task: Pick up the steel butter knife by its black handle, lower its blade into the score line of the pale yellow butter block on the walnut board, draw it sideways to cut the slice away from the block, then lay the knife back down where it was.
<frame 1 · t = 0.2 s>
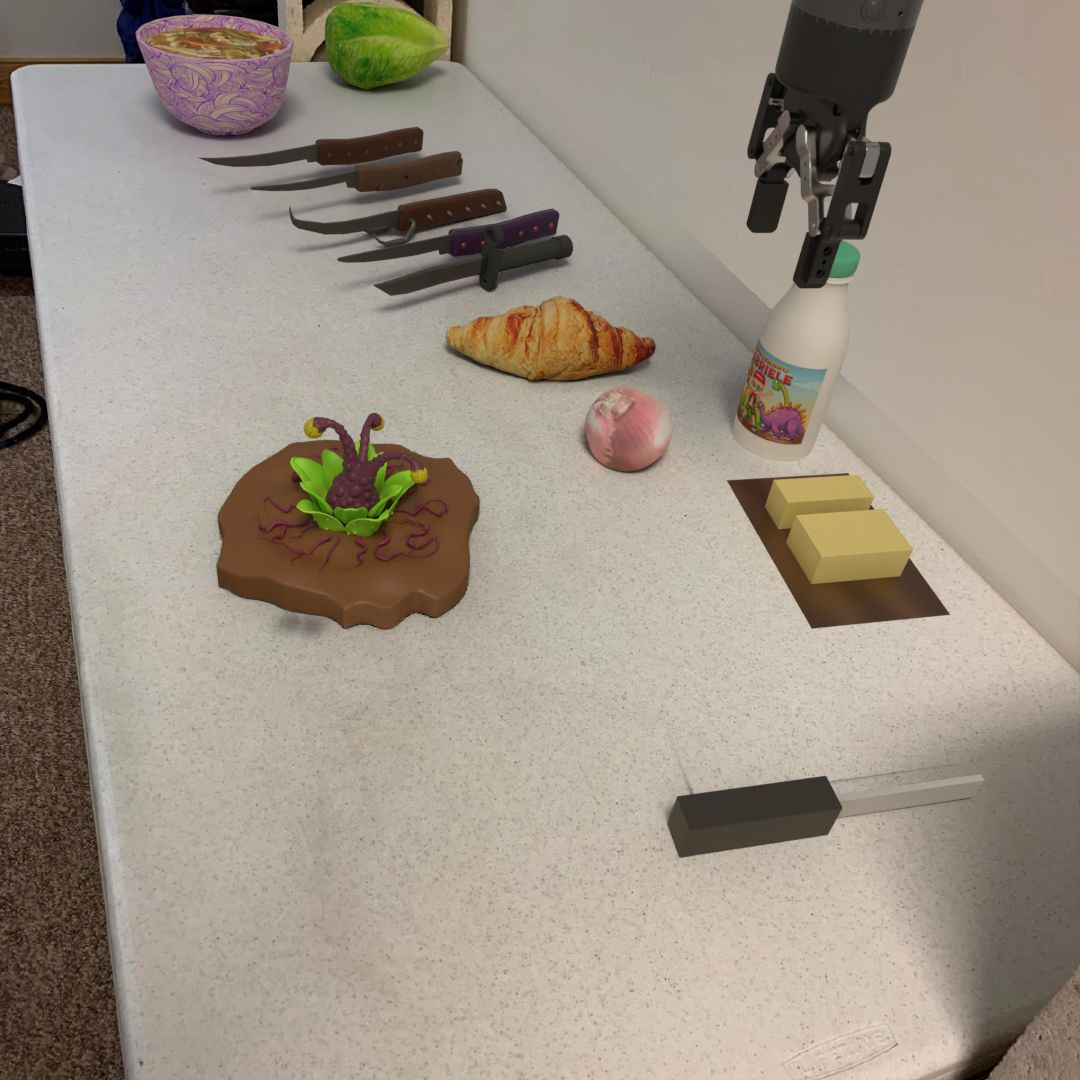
hand: (782, 257, 70), 23 cm above the table, tool pointing down, fingers open, 8 cm apart
onion: (622, 460, 90), on the table
bowl of food: (224, 126, 139), on the table
lettuce: (388, 85, 159), on the table
knife set: (396, 235, 119), on the table
butter block: (842, 559, 81), resting on butter board
butter slice: (813, 515, 85), point 1 cm above the table, touching butter board
butter knife: (748, 829, 62), on the table
milk bottle: (769, 446, 94), on the table
croissant: (548, 361, 102), on the table
butter board: (828, 551, 83), on the table
plant: (350, 538, 78), on the table
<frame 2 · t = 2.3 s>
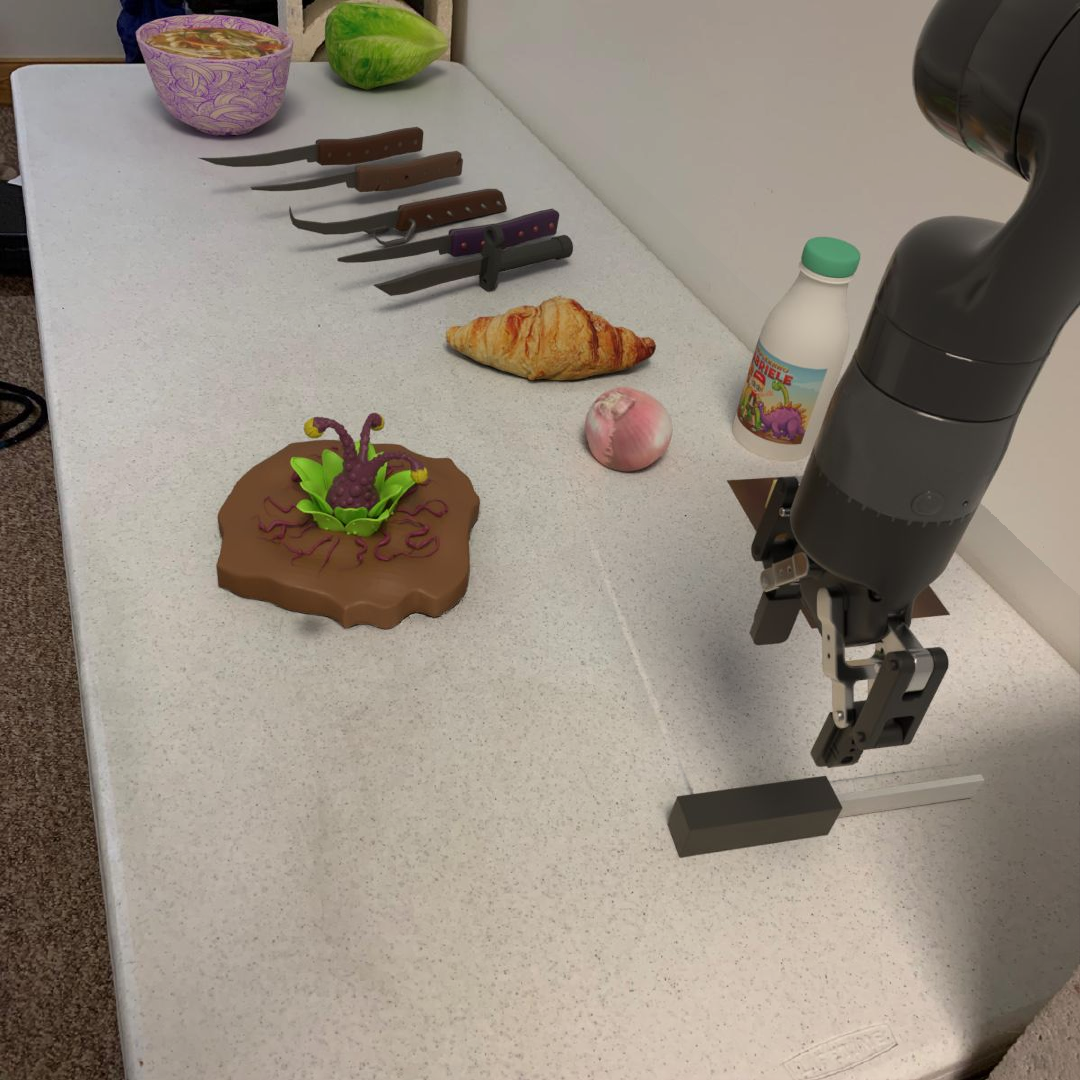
hand: (796, 696, 55), 12 cm above the table, tool pointing down, fingers open, 8 cm apart
nothing on the table moved.
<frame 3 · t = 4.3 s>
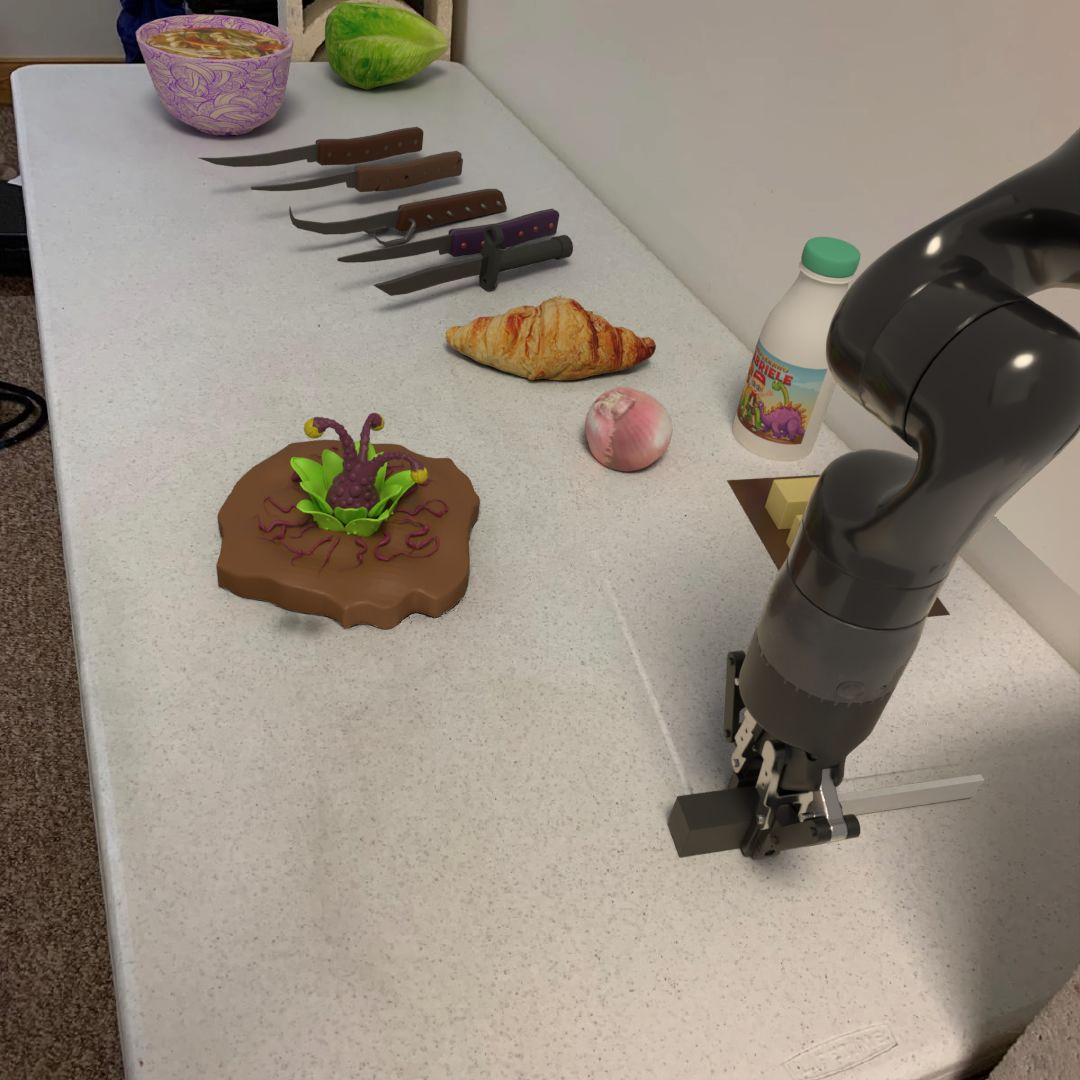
hand: (748, 827, 62), 0 cm above the table, tool pointing down, fingers closed on butter knife, 2 cm apart
butter knife: (748, 829, 62), on the table, touching gripper
everything else where it was.
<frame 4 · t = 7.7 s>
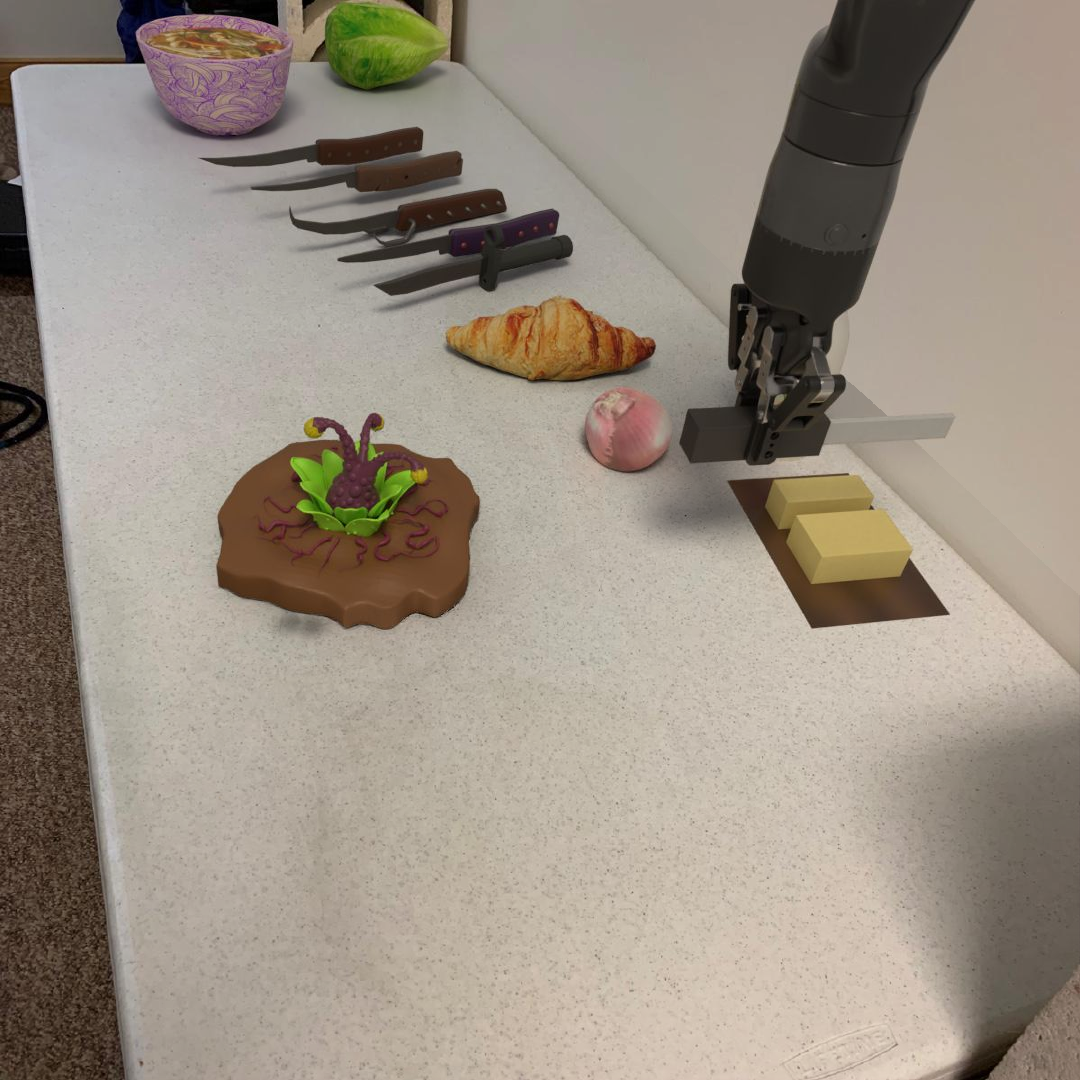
hand: (749, 448, 71), 13 cm above the table, tool pointing down, fingers closed on butter knife, 2 cm apart
butter knife: (749, 449, 71), point 13 cm above the table, touching gripper
everything else where it was.
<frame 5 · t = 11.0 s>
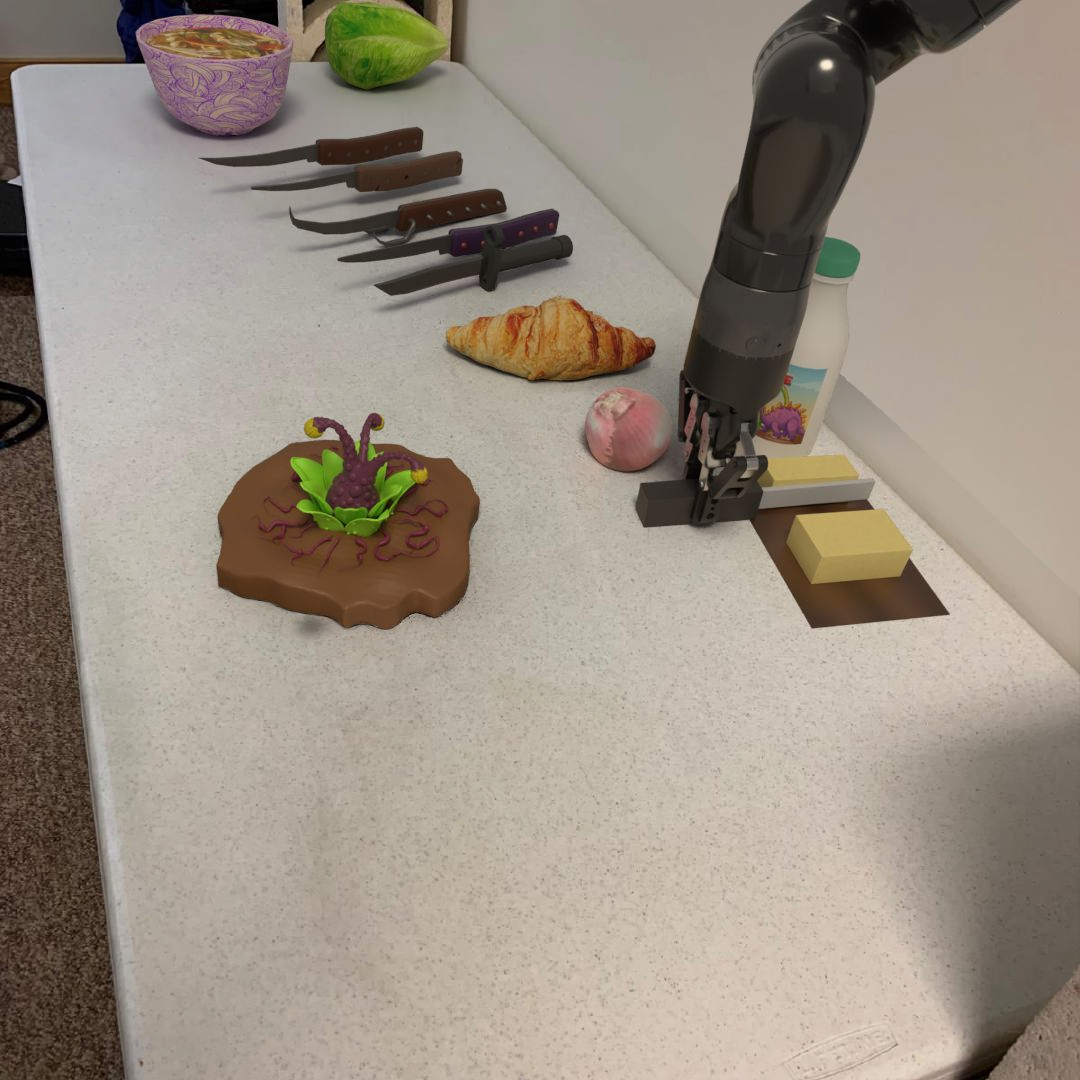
hand: (696, 508, 83), 2 cm above the table, tool pointing down, fingers closed on butter knife, 2 cm apart
butter slice: (800, 493, 87), point 1 cm above the table, touching butter board
butter knife: (695, 514, 84), point 1 cm above the table, touching gripper
everything else where it was.
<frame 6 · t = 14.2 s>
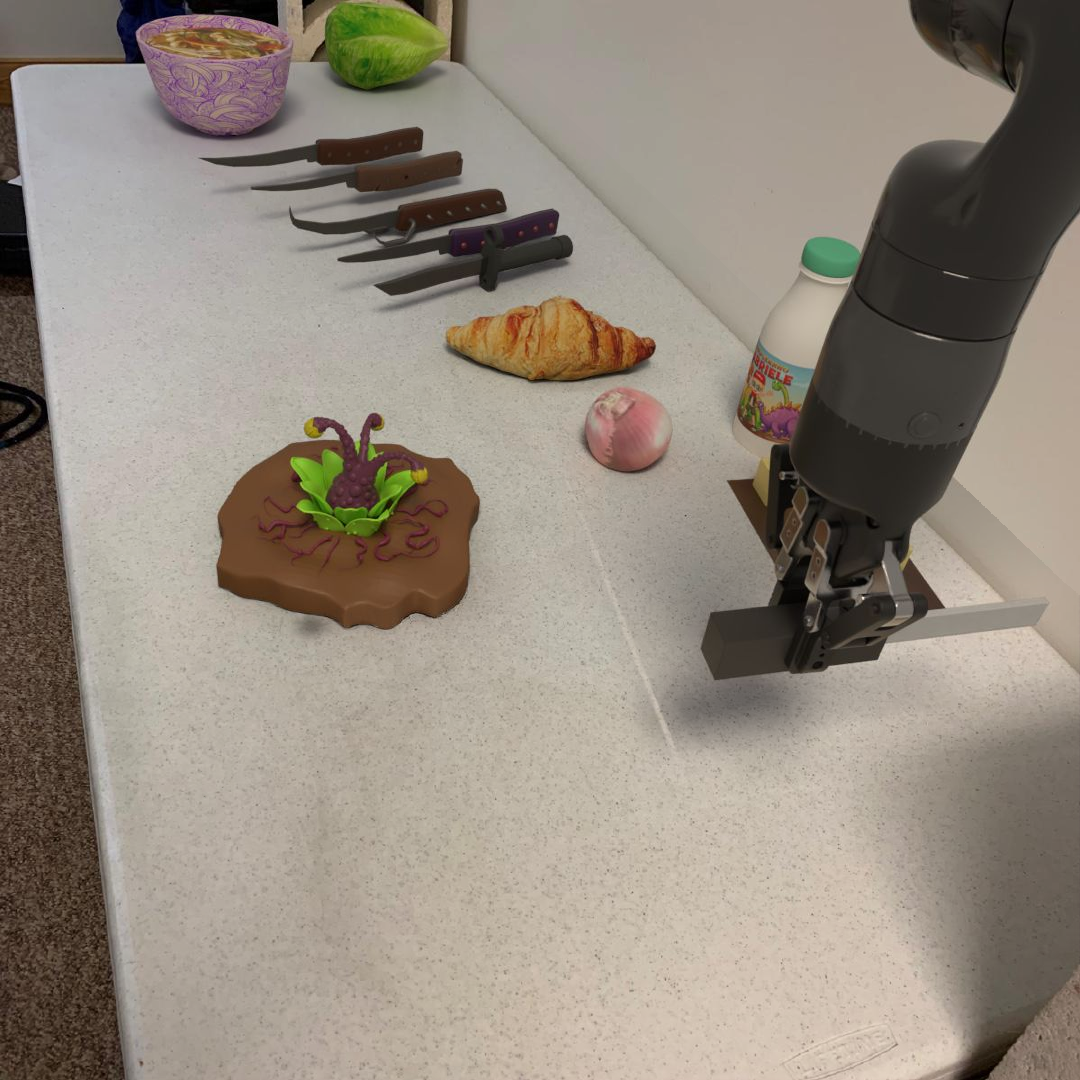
hand: (791, 646, 56), 13 cm above the table, tool pointing down, fingers closed on butter knife, 2 cm apart
butter knife: (789, 654, 57), point 12 cm above the table, touching gripper
everything else where it was.
when the fingers open (1 cm above the table, at t = 17.0 s): butter knife stays where it is, on the table.
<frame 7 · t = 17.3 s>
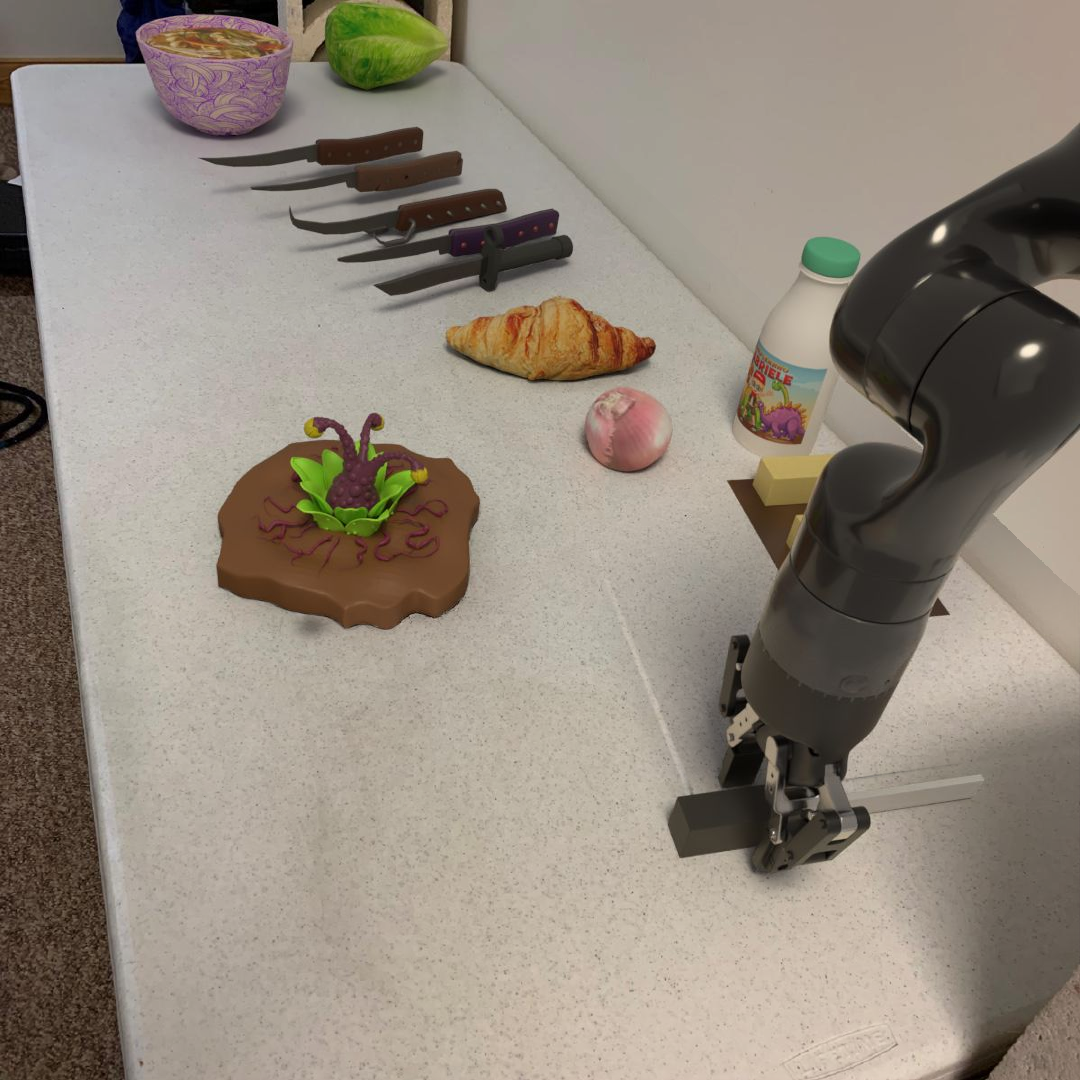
hand: (751, 821, 62), 1 cm above the table, tool pointing down, fingers open, 5 cm apart
butter knife: (748, 829, 62), on the table
everything else where it was.
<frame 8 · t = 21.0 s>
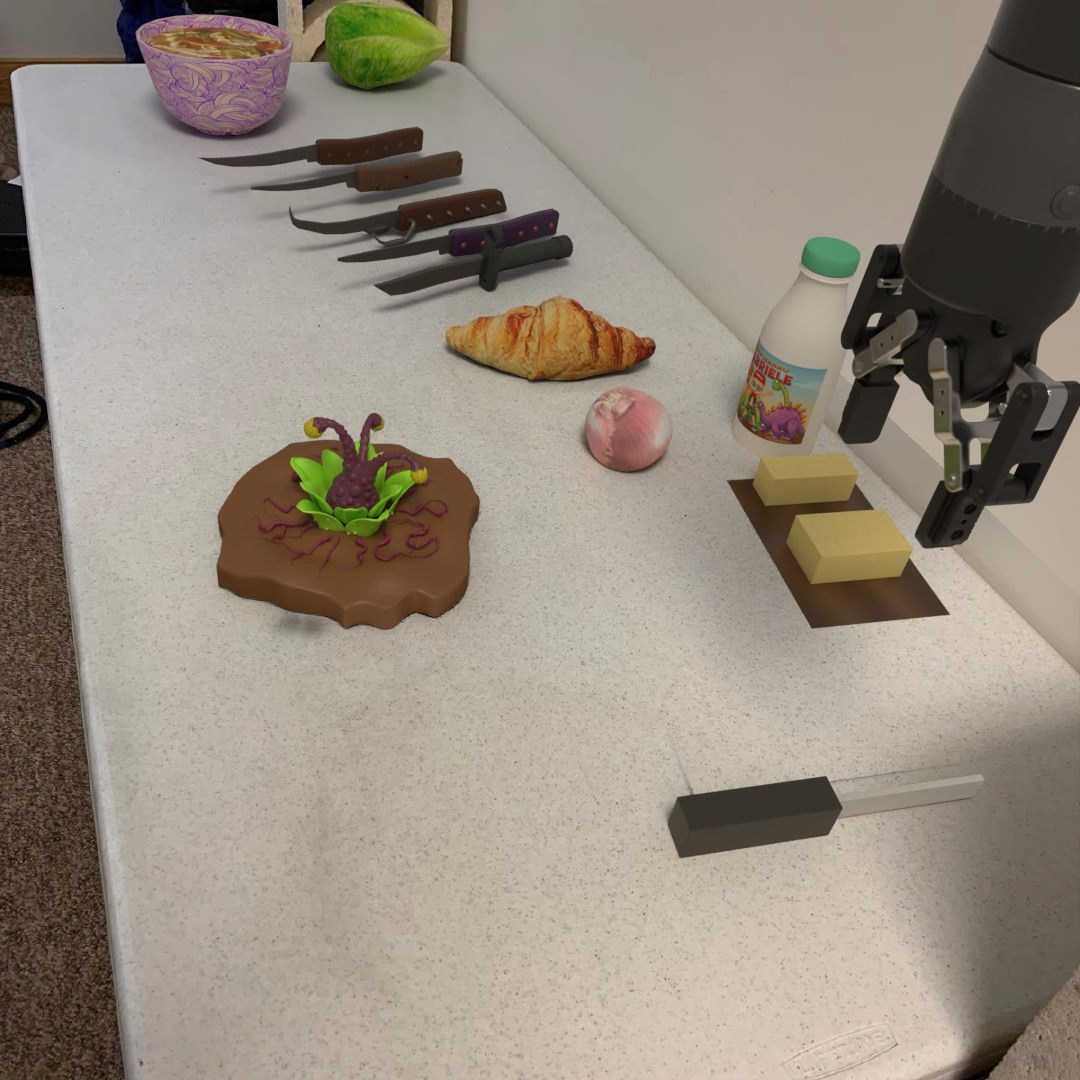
hand: (892, 488, 51), 23 cm above the table, tool pointing down, fingers open, 8 cm apart
nothing on the table moved.
at the end: butter slice 0.8 cm from the target spot on the table beside the butter block, resting on butter board; butter slice moved 3.0 cm from its start; butter knife inside the target area (0.0 cm from its centre), on the table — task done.
